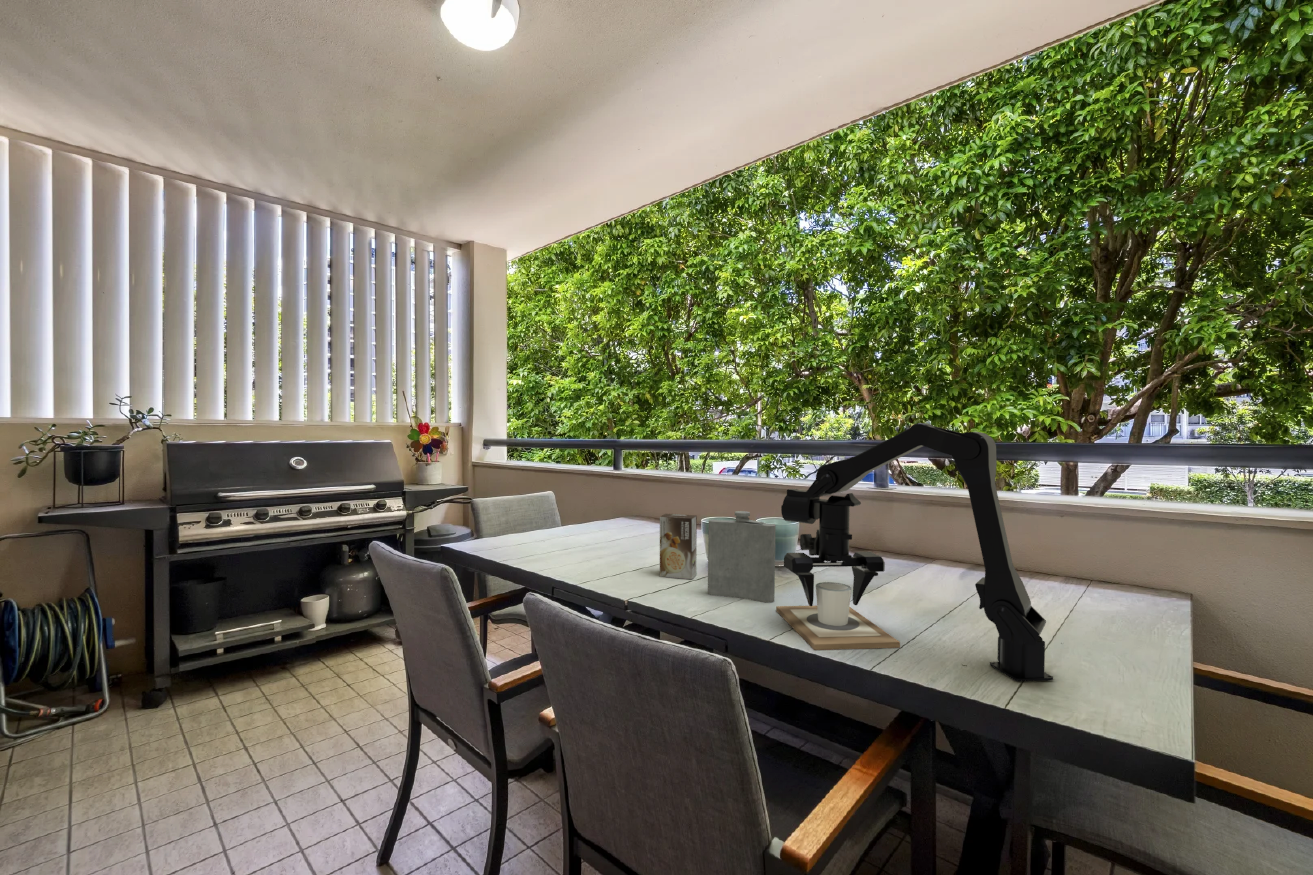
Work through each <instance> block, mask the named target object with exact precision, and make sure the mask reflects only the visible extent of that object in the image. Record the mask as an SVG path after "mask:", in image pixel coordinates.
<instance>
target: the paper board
mask: <svg viewBox="0 0 1313 875" xmlns="http://www.w3.org/2000/svg"><path fill="white" fill-rule="evenodd" d="M775 612H777V614H779V615H780V616H781V618H783V620H785V622H786V623H787V624H789V626H790V627H792V629H793V630H794V631H795V632H796V633H797V634H798V635H799V636H800V637H801V638H802V639H803V640H804V641H805V642H806V643H807V644H808V645H809V646H810V647H811V648H812V649H813V651H824V650H825V651H826V650H827V651H828V650H829V651H830V650H857V649H858V650H861V649H865V650H866V649H892V648H893V649H895V648H899V649H900V648H901V642H900V641H899V640H897V638H895V637H894V636H892V635H891V634H890V633H888V632H886V631H885V630H883V629H882V628H881V627H880V626H878V625H877V624H875V623H873V622H872V621H871V620H870V619H868V618H867V617H865V615H864V616H863V615H862V614H860V613H859V612H858V611H857V610H855V609H854V608H852V607H851V606H849V615H848V623H847V624H846V625H843V626H832V625H827V624H823V623H821V622H820V621H819V620H818V610H817V604H816V605H813V606H809V605H777V606H775Z"/></svg>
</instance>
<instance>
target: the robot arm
mask: <svg viewBox="0 0 1313 875" xmlns="http://www.w3.org/2000/svg"><path fill="white" fill-rule="evenodd" d="M923 447H925V448H929V449H932V450H933V451H937V452H940V453H943V454H945V455H950V456H951V457H952V459H953V462H954V464H955V467H956V469H957V471H958V473H959V475H960V476H961V478H962V479H963V481H964V484H965V485H966V487H967V491H968V495H969V501H970V504H971V510H972V514H973V518H974V523H975V528H976V532H977V538H978V541H979V547H980V551H981V555H982V561H983V565H984V576H983V577H981V579H979V580H977V582H976V583H975V584H974V586H975V590H976V592H977V595H978V597H979V606H978V608H979V610H983V611H984V613H985V617H986V618H987V619H988V620H989V621H990V622H991V623H993V624H994V625H995V627H996V630H997V633H998V637H997V661H990V662H989V666H990V667H991V668H994V669H995V670H997V672H1000V673H1001V674H1004V676H1006V677H1008V678H1010V679H1011V680H1013V681H1014V682H1020V683H1021V682H1039V681H1041V682H1043V681H1044V682H1045V681H1046V682H1047V681H1054V676H1053V675H1050V673H1048V672H1046V671H1045V665H1046V664H1045V662H1046V660H1045V659H1046V658H1045V657H1046V641H1044V640H1043V637H1042V636H1040V635H1041V634H1042V632H1043V630H1044V629H1045V628H1044V627H1045V626H1046V624H1047V620H1046V618H1044V617H1043V616H1042V615H1041V614H1040V612H1038V611H1037V610H1036V609H1035V607H1034V606H1032V602H1031V599H1030V596H1029V594H1028V592H1027V589H1026V586H1025V584H1024V583H1023V580H1022V578H1021V577H1020V575H1019V573H1018V571H1017V570H1016V568H1015V567H1014V563H1013V559H1012V555H1011V550H1010V545H1009V541H1008V536H1007V530H1006V527H1005V523H1004V518H1003V513H1002V509H1001V504H1000V500H999V499H1000V498H999V494H998V490H997V486H996V476H997V475H996V474H997V464H998V462H997V444H996V442H995V440H994V439H993V437H992V436H990V435H988V434H987V433H985V432H981V431H965V432H959V431H954V430H951V429H947V428H946V429H945V428H943V427H938V426H934V425H932V424H931V423H926V422H925V423H924V422H917V423H915V424H914V423H913V425H911V426H910V427H909V428H907V429H905V430H903V431H901V432H899V433H898V434H895V435H894V436H892V437H890V438H888V439H886V440H884V441H882V442H880V443H878V444H876V445H874V446H873V447H871V448H869V449H867V450H865V451H862V452H861V453H859V454H857V455H855V456H851V457H849V458H847V457H846V458H843V459H840V460H836V461H834V462H830V463H826V464H824V465H821V466H820V467H819V468H818V469H817V471H816V475H815V480H814V481H813V482H812V484H811V485H810V486H809V487H808V489H807V490H800V489H797V488H789V489H786V495H785V497H784V499H783V500H782V501H783V502H782V505H781V507H780V508H781V516H782V519H783V520H784V521H785V522H791V523H792V522H793V523H800V524H801V523H802V524H808V525H813V524H814V523H815V522H816V520H817V521H818V520H819V522H818V524H819V525H818V529H816V531H815V532H816V533H815V536H814V537H812V534H810V533H802V534H800V535H799V538H800V539H799V548H800V550H801V551H808V554H809V555H808V554H806V553H804V552H787V553H786V554H785V555H784V557H783V567H785V569H787V570H788V571H790V573H791V572H792V573H793V574H794V575H796V576H797V577H798V580H799V581H800V583H801V586H802V588H803V589H802V590H803V591H804V594H805V599H806V601H807V605H808V606H814V598H815V597H814V595H815V592H814V590H815V574H814V573H813V572H811V571H812V570H813V569H814V568H822V567H823V568H827V567H828V568H832V567H834V568H835V567H836V568H840V567H847V568H848V567H851V570H852V575H853V584H852V605H854V606H858V604H859V602H860V601H861V598H862V597H863V595H864V593H865V591H866V589H867V587H869V584H870V583H871V581H872V580H873V579H874V577H878V576H879V572H880V573H883V572H885V569H886V566H885V565H886V563H885V560H884V558H883V557H882V556H881V555H879V554H876V553H874V552H872V551H854V553H853V555H851V554H849V553H850V541H851V540H853V534H851V533H850V517H851V516H850V515H851V514H850V513H851V512H850V508H851V507H853V508H854V507H857V506H860V505H861V504H862V503H861V501H860V500H859V499H858V498H857V497H856V496H855V495H854V493H853V492H849V493H846V495H845V496H843V495H834V494H836V493H841V492H846V491H848V490H850V489H851V488H852V487H854V486H856V485H857V484H858V483H860V482H861V481H862V480H863V479H864V478H865V477H867V475H869V474H870V473H871V472H874V471H876V470H878V469H880V468H882V467H883V466H886V465H888V464H889V463H892V462H893V461H895V460H898V459H900V458H902V457H904V456H906V455H908V454H910V453H912V452H914V451H916V450H918V449H920V448H923ZM832 494H833V495H832ZM825 496H829V497H828V499H822V498H820V497H825ZM811 556H812V557H811ZM816 556H817V557H816Z"/></svg>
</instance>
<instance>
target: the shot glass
mask: <svg viewBox="0 0 1313 875" xmlns="http://www.w3.org/2000/svg"><path fill="white" fill-rule="evenodd" d="M851 595H852V586H850V585H848V584H846V583H840V582H831V581H825V582H824V581H823V582H818V583H816V584H815V596H816V605H817V610H818V620H819V621H820V622H821V623H823V624H827V625H832V626H843V625H846V624H847V623H848V615H849V607H851V606H850V605H851Z"/></svg>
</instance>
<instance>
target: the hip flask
mask: <svg viewBox="0 0 1313 875" xmlns="http://www.w3.org/2000/svg"><path fill="white" fill-rule="evenodd" d="M734 516H735V520H730V519H729V520H728V519H715V518H714V519H708V537H707V538H708V543H707V550H708V552H707V560H708V561H707V595H709V596H715V597H726V598H728V597H729V598H733V599H734V598H736V599H742V600H749V601H756V602H761V603H767V604H770V603H774V602H775V585H776V584H775V580H776V576H775V575H776V528H777V527H776V526H777V525H776V524H775V523H766V522H764V521H758V520H752V519H750V516H751V512H750V511H746V510H745V511H744V510H737V511H734Z"/></svg>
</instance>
